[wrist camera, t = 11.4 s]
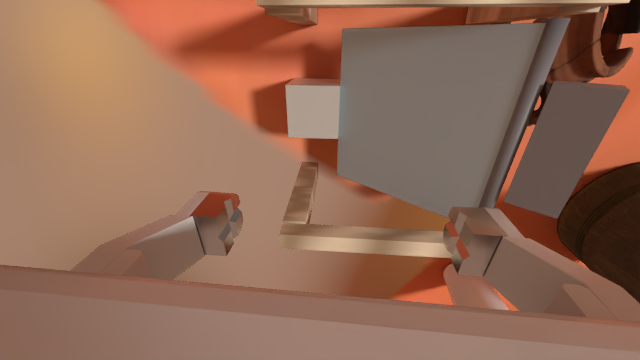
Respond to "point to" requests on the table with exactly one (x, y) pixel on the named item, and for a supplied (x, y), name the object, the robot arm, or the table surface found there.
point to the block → (313, 107)
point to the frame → (296, 233)
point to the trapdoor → (466, 115)
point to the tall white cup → (471, 290)
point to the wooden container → (607, 227)
